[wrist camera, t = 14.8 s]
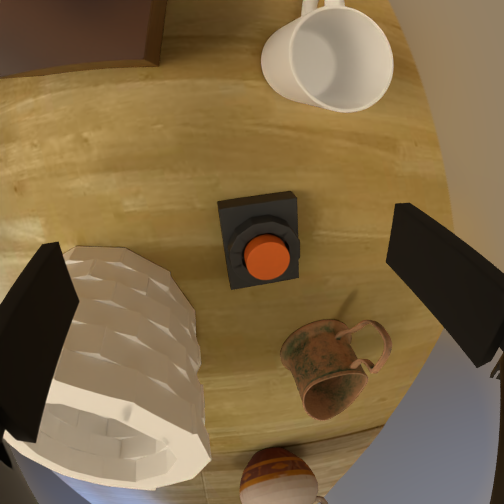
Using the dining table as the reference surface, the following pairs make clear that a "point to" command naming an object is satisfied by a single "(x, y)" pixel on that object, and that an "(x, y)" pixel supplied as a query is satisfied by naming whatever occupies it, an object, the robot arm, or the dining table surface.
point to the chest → (150, 61)
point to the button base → (258, 233)
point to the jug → (278, 479)
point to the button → (266, 257)
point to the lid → (71, 33)
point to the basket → (124, 379)
